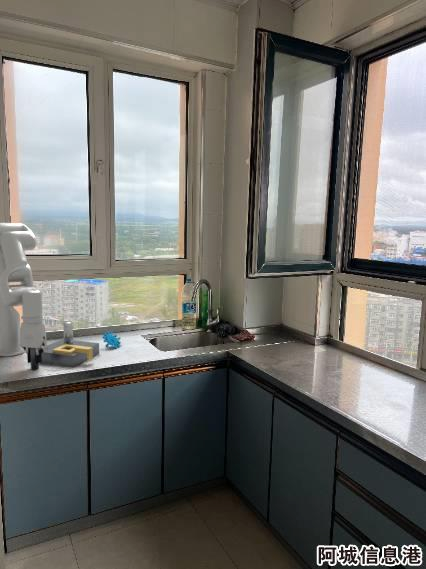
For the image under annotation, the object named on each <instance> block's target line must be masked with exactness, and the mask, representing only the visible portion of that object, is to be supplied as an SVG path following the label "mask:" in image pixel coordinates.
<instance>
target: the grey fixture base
mask: <svg viewBox="0 0 426 569" xmlns="http://www.w3.org/2000/svg"><path fill="white" fill-rule="evenodd" d="M73 325H74V324H73V321H70V320H69V321H63V339H59V340H56V341H54V342H52V343H49V344H47V345H48V349H46V350H44V352H43V353H42V362H41V363H40V364H49V365H55V366H56V365H57V366H63V367H71V368H76V367H77V366H79V365H81V364H83V363H84V362H87V361H88V360H87V354H86V353H78V352H74V353H72V354H65V353H57V352H53V349H55V348H58V347H60V346H62V345H65V344H68V345H77V346H84V347H93V358H94V357H95V356H97V355H99V354H100V343H99V342H93V341H92V342H91V341H83V340H75V339H74V330H73V329H74V328H73ZM42 348H43V346H42ZM66 350H70V348H66Z"/></svg>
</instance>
